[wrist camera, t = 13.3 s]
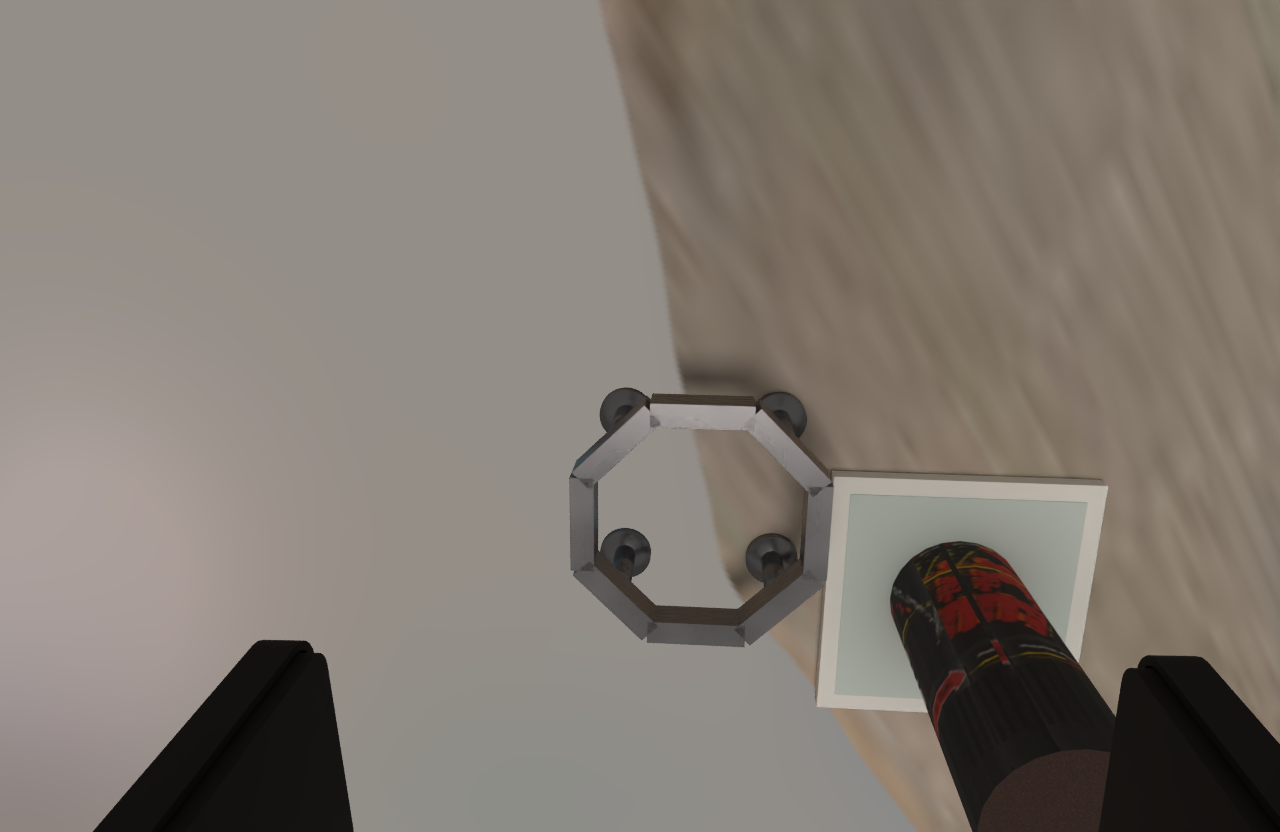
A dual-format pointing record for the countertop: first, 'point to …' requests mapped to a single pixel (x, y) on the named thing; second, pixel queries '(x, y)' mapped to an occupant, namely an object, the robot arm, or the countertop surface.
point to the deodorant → (1002, 693)
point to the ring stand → (766, 556)
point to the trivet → (927, 516)
